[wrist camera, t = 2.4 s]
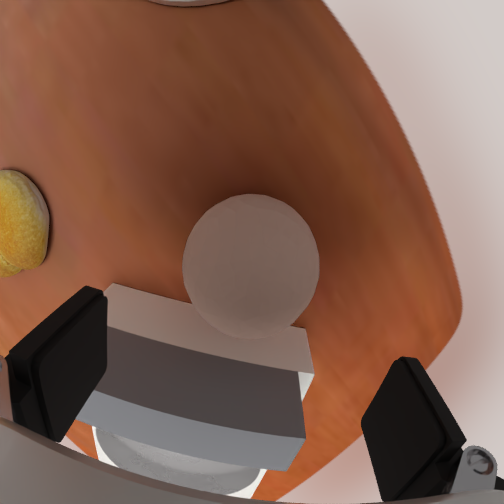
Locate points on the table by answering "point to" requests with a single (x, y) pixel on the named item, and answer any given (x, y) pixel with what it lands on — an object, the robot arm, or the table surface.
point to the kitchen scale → (199, 386)
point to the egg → (250, 266)
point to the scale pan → (175, 466)
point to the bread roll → (21, 224)
